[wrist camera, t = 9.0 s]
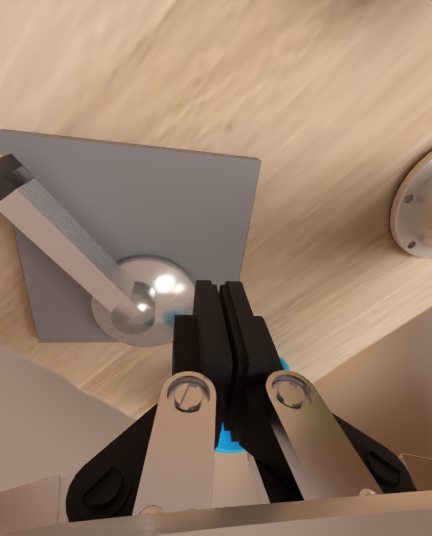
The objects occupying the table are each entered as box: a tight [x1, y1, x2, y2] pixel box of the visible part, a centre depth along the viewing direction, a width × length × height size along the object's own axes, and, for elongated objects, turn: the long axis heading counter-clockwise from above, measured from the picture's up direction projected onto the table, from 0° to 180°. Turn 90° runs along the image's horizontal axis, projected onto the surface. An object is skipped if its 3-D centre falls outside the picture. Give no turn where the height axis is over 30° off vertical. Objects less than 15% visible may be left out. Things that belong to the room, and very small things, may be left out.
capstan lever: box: [0, 153, 195, 347], centre depth 25 cm, size 10×21×5 cm, turn 32°
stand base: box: [0, 129, 261, 342], centre depth 28 cm, size 20×20×2 cm
